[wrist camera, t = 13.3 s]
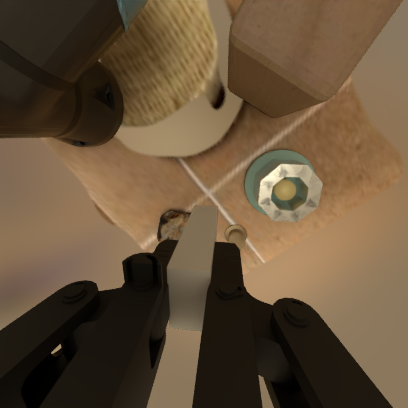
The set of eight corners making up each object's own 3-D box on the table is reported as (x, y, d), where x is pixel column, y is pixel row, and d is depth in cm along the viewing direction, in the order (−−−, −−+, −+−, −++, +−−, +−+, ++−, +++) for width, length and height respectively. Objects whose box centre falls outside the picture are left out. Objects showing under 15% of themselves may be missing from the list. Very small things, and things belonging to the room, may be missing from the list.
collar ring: (251, 207, 38) (256, 219, 32) (256, 158, 35) (262, 163, 30) (301, 209, 37) (314, 223, 32) (310, 160, 34) (326, 165, 29)
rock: (159, 240, 45) (201, 255, 43) (145, 246, 39) (194, 264, 37) (169, 202, 44) (212, 216, 42) (157, 203, 39) (207, 219, 36)
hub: (231, 184, 39) (231, 192, 33) (279, 134, 35) (289, 134, 30) (275, 224, 41) (282, 238, 35) (325, 180, 37) (343, 188, 31)
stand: (220, 234, 43) (220, 244, 39) (235, 220, 41) (236, 229, 38) (236, 247, 43) (237, 258, 40) (251, 234, 42) (253, 243, 38)
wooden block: (314, 60, 32) (445, -51, 13) (275, 120, 35) (333, 104, 16) (259, 23, 31) (312, -151, 12) (225, 89, 34) (223, 33, 15)
